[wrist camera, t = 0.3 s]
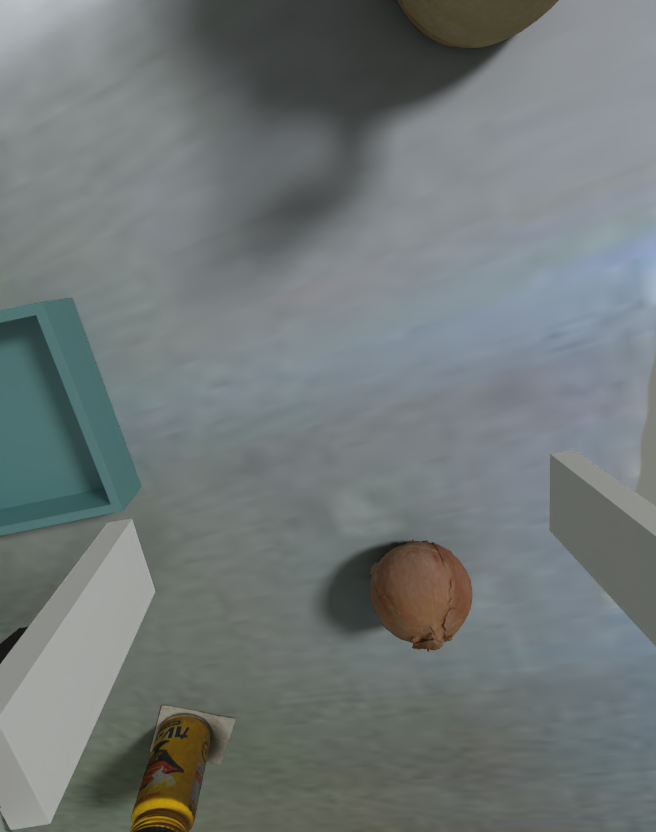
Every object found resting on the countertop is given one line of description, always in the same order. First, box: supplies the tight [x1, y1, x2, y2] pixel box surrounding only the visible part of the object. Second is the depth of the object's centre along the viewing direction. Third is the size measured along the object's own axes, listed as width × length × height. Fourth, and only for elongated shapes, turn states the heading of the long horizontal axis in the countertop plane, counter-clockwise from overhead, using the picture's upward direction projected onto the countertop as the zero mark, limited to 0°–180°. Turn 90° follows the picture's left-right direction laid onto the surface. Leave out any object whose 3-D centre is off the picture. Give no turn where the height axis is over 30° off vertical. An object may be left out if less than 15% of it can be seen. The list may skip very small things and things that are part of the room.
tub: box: [0, 298, 141, 536], centre depth 39 cm, size 18×15×4 cm
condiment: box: [130, 706, 236, 832], centre depth 48 cm, size 7×8×12 cm
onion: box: [369, 540, 472, 652], centre depth 43 cm, size 10×9×10 cm
